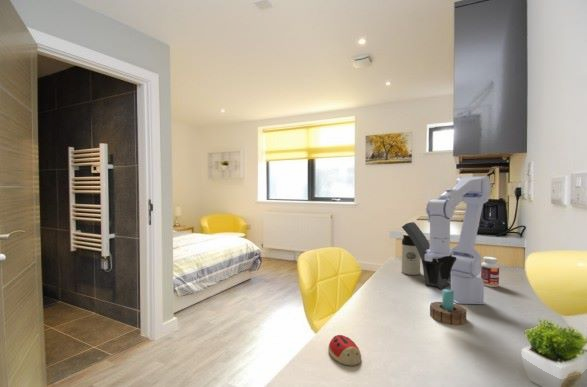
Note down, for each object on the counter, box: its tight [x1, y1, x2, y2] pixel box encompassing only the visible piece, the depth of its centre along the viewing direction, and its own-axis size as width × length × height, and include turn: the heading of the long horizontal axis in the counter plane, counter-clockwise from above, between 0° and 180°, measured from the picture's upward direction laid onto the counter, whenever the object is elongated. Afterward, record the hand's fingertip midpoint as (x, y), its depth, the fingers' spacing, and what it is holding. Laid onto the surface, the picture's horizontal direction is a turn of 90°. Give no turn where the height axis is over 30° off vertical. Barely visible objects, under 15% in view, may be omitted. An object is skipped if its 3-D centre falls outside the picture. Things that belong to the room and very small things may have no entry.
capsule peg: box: [441, 288, 455, 311], centre depth 91 cm, size 3×3×8 cm
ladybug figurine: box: [327, 334, 362, 367], centre depth 70 cm, size 7×10×4 cm
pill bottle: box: [480, 256, 500, 288], centre depth 123 cm, size 6×6×11 cm
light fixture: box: [401, 221, 451, 290], centre depth 126 cm, size 11×17×24 cm, turn 45°
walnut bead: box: [429, 301, 467, 326], centre depth 91 cm, size 10×10×3 cm
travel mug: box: [401, 232, 421, 276], centre depth 140 cm, size 8×8×18 cm
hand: (439, 280), depth 95 cm, fingers open, 7 cm apart
